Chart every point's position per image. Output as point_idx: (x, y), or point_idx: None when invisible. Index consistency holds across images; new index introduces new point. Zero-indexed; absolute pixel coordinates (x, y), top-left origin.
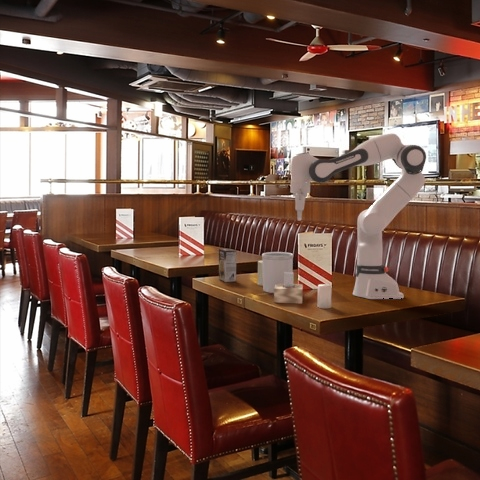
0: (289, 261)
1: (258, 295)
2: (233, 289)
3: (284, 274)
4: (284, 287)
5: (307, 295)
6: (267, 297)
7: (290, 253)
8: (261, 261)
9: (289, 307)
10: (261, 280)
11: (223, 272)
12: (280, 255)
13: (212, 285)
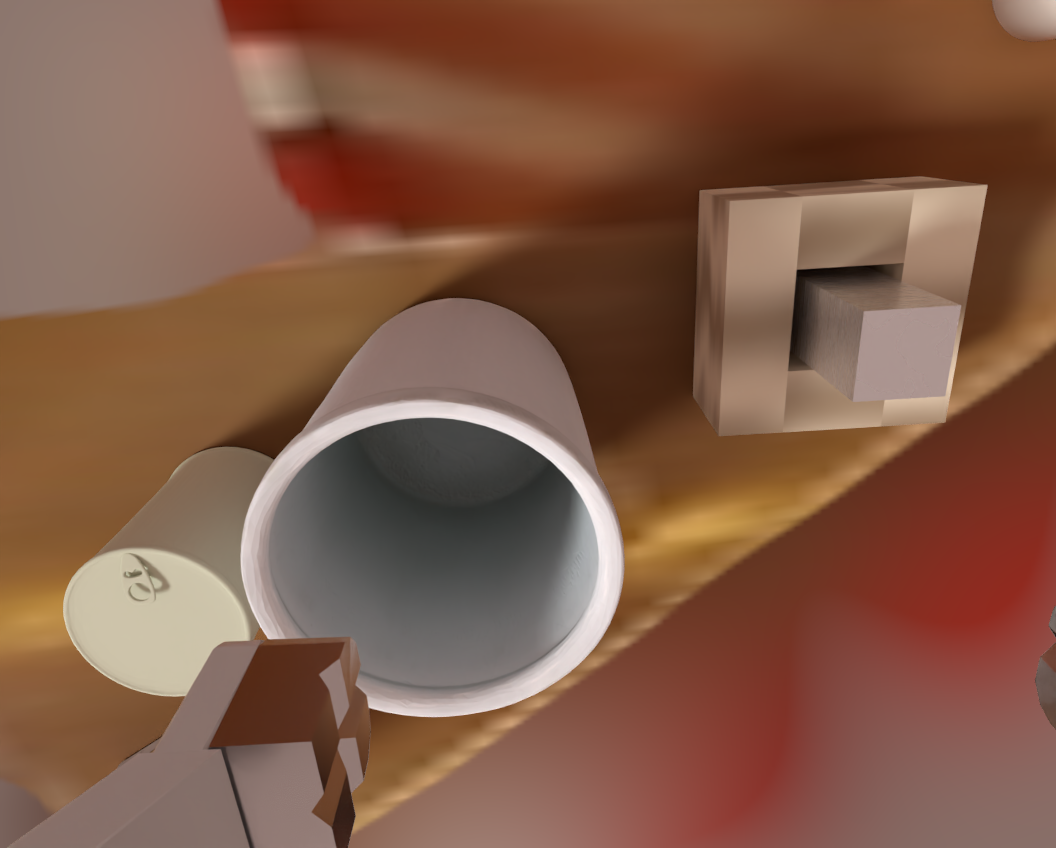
0: (530, 405)
1: (668, 508)
2: None
3: (940, 388)
4: None
5: (607, 150)
6: (727, 444)
7: (323, 440)
8: (162, 668)
9: (1052, 262)
10: None
11: None
12: (270, 540)
13: (406, 797)
